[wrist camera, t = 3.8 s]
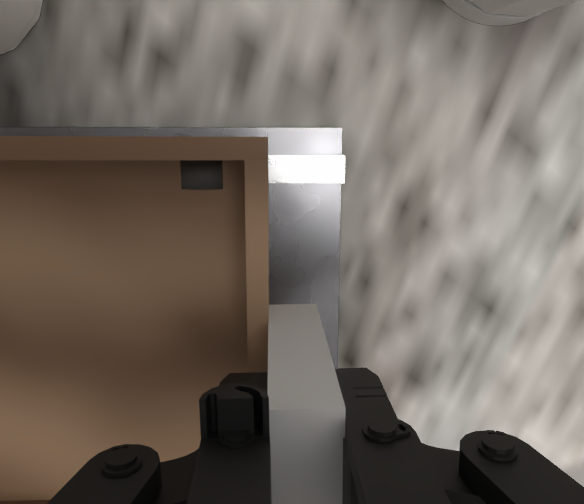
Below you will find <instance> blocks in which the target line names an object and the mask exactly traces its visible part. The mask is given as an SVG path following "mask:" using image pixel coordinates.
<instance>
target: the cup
mask: <svg viewBox="0 0 584 504" xmlns="http://www.w3.org/2000/svg"><path fill="white" fill-rule="evenodd" d="M442 1H443V2H444V3H445V4H446V5H447V6H448V7H449V8H450V9H452V10H453V11H454V12H456V13H457V14H459V15H460V16H462V17H464V18H466V19H468V20H470V21H473V22H476V23H479V24H484V25H491V26H506V25H513V24H517V23H521V22H524V21H526V20H529V19H531V18H533V17H535V16H538V15H540V14H542V13H544V12H546V11H548V10H550V9H553V8H556V7H560V6H563V5H566V4H569V3H572V2H575V1H578V0H442Z"/></svg>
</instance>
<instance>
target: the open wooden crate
mask: <svg viewBox="0 0 584 504" xmlns="http://www.w3.org/2000/svg"><path fill="white" fill-rule="evenodd" d="M268 322H269V181H268V137H115V136H0V504H47V503H48V502H49V501H50V500H51V499H52V498H53V497H54V496H55V495H56V494H57V493H58V492H59V490H60V489H61V488H62V487H63V486H64V485H65V484H66V483H67V482H68V481H69V480H70V479H71V478H72V477H73V476H74V475H75V474H76V473H77V472H78V471H79V470H80V469H81V468H82V467H83V466H84V465H85V464H86V463H87V462H88V461H89V460H90V459H91V458H93V457H94V456H95V455H97V454H98V453H100V452H102V451H104V450H107V449H109V448H111V447H114V446H118V445H119V446H120V445H123V444H141V445H145V446H149V447H151V448H153V449H154V450H155V451H157V452H158V455H159V458H160V462H164V461H168V460H173V459H176V458H180V457H183V456H186V455H188V454H190V453H192V452H194V451H196V450H197V449H199V446H200V441H201V431H200V411H199V399H200V397H201V396H202V394H203V393H205V392H206V391H208V390H210V389H211V388H214V387H217V386H219V383H220V382H221V381H222V380H223V379H224V378H225V377H226V376H227V375H228V374H229V373H250V372H268Z"/></svg>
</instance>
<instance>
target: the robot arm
mask: <svg viewBox="0 0 584 504" xmlns="http://www.w3.org/2000/svg"><path fill="white" fill-rule="evenodd" d="M199 411H200V431H201V441H200V446H199V449H197V450H196V451H194V452H192V453H190V454H188V455H186V456H183V457H180V458H176V459H173V460H168V461H164V462H160V458H159V455H158V452H157V451H155V450H154V449H153V448H151V447H149V446H145V445H141V444H123V445H120V446H119V445H118V446H114V447H111V448H109V449H107V450H104V451H102V452H100V453H98V454H97V455H95V456H94V457H93V458H91V459H90V460H89V461H88V462H87V463H86V464H85V465H84V466H83V467H82V468H81V469H80V470H79V471H78V472H77V473H76V474H75V475H74V476H73V477H72V478H71V479H70V480H69V481H68V482H67V483H66V484H65V485H64V486H63V487H62V488H61V489H60V490H59V492H58V493H57V494H56V495H55V496H54V497H53V498H52V499H51V500H50V501H49V502H48V503H47V504H584V487H583V486H581V485H580V484H579V483H577V482H576V481H575V480H574V479H572V478H571V477H570V476H568V475H567V474H566V473H565V472H563V471H562V470H561V469H559V468H558V467H557V466H556V465H554V464H553V463H552V462H550V461H549V460H548V459H547V458H545V457H544V456H543V455H541V454H540V453H539V452H538V451H536V450H535V449H534V448H532V447H531V446H530V445H529V444H527V443H525V442H524V441H522V440H520V439H519V438H517V437H514V436H511V435H508V434H506V433H504V432H499V431H496V432H495V431H492V430H486V431H475V432H472V433H469V434H466V435H465V436H464V437H463V438H462V439H461V440H460V451H454V450H448V449H441V448H436V447H432V446H428V445H425V444H423V443H421V442H420V439H419V437H418V435H417V433H416V432H415V430H414V429H413V428H412V427H411V426H410V425H409V424H407V423H405V422H403V421H401V420H399V419H397V416H396V414H395V412H394V410H393V408H392V405H391V403H390V401H389V399H388V397H387V394H386V392H385V390H384V388H383V386H382V383H381V381H380V379H379V377H378V376H377V375H376V374H374V373H373V372H371V371H370V370H369V369H367V368H341V369H335V368H334V365H333V361H332V357H331V354H330V350H329V347H328V343H327V340H326V336H325V332H324V329H323V325H322V322H321V318H320V315H319V311H318V308H317V304H275V305H269V322H268V372H250V373H229V374H228V375H227V376H226V377H225V378H224V379H223V380H222V381H221V382H220V383H219V386H217V387H214V388H211V389H210V390H208V391H206V392H205V393H203V394H202V396H201V397H200V399H199Z"/></svg>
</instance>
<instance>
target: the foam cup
mask: <svg viewBox="0 0 584 504" xmlns="http://www.w3.org/2000/svg"><path fill="white" fill-rule="evenodd" d="M42 2H43V0H0V55H1V54H3V53H6V52H8V51H10V50H13V49H15V48H17V46H18V45H19V44H20V42H21V41H22V40H23V39H24V37H25V36H26V35H27V33H28V32H29V31H30V30H31V28H32V27H33V26H34V25H35V23H36V22H37V21H38V19H39V17H40V12H41V7H42Z"/></svg>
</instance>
